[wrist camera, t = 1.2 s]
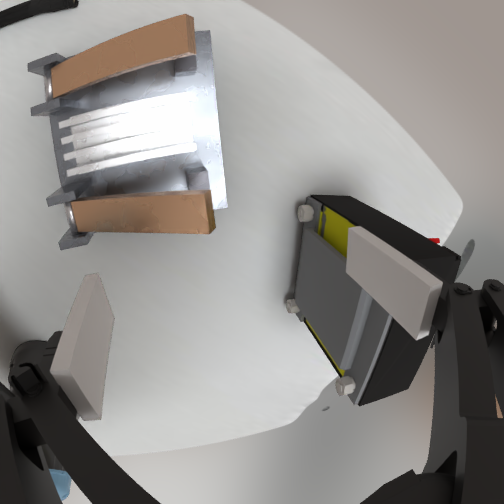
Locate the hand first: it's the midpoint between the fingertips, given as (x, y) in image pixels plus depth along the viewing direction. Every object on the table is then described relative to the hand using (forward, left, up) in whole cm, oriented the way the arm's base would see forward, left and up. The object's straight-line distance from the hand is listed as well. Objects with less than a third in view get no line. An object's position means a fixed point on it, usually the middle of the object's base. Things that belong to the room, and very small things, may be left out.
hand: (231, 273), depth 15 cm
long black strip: (-20, +27, -23) cm, 41 cm away
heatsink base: (-6, +7, -23) cm, 25 cm away
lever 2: (-6, +1, -12) cm, 13 cm away
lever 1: (-6, +14, -12) cm, 19 cm away
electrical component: (+16, -13, -23) cm, 31 cm away
